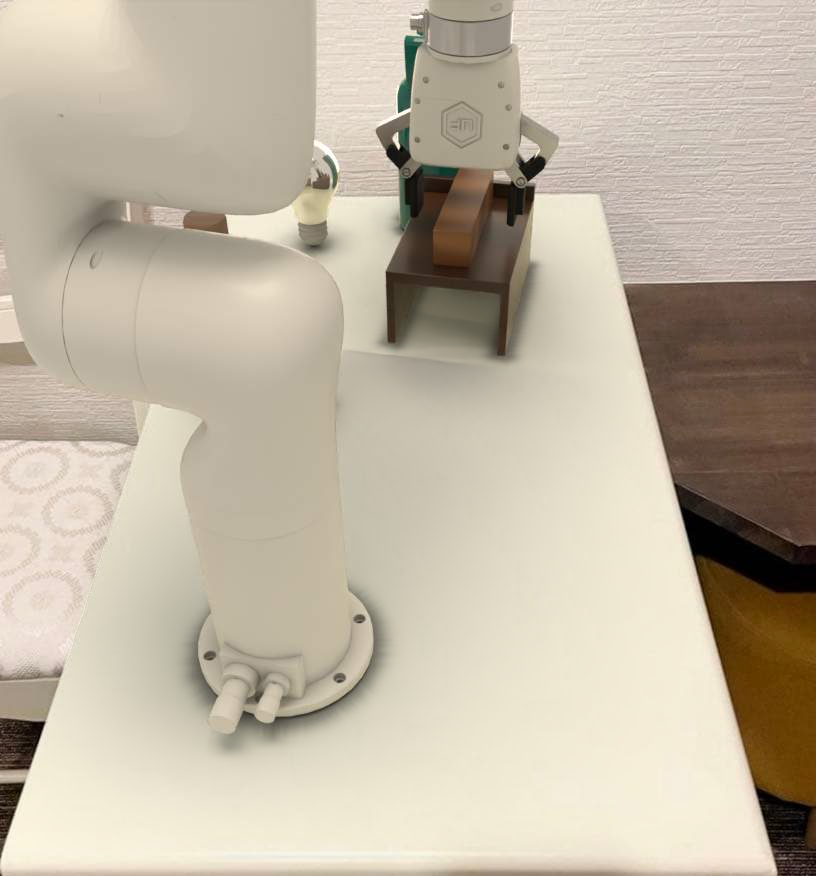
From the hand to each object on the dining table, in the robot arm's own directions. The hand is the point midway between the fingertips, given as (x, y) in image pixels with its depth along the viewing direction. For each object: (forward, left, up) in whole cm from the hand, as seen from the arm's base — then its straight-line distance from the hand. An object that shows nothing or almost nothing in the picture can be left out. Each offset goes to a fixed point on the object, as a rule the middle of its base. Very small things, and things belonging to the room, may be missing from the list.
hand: (464, 215), depth 98 cm
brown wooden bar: (0, 0, -2) cm, 2 cm away
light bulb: (+9, +19, -10) cm, 23 cm away
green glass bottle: (+17, +6, -10) cm, 21 cm away
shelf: (0, 0, -10) cm, 10 cm away
